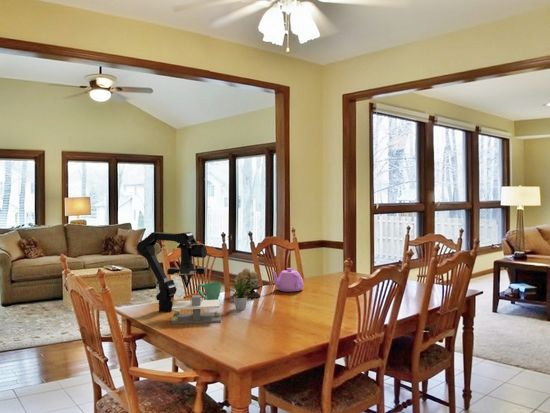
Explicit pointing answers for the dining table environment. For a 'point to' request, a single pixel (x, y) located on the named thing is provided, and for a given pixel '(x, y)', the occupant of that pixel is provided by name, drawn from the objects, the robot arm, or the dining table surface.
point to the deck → (189, 305)
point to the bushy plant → (250, 277)
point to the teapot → (288, 280)
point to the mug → (210, 290)
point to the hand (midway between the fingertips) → (186, 287)
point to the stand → (195, 317)
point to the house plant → (240, 294)
